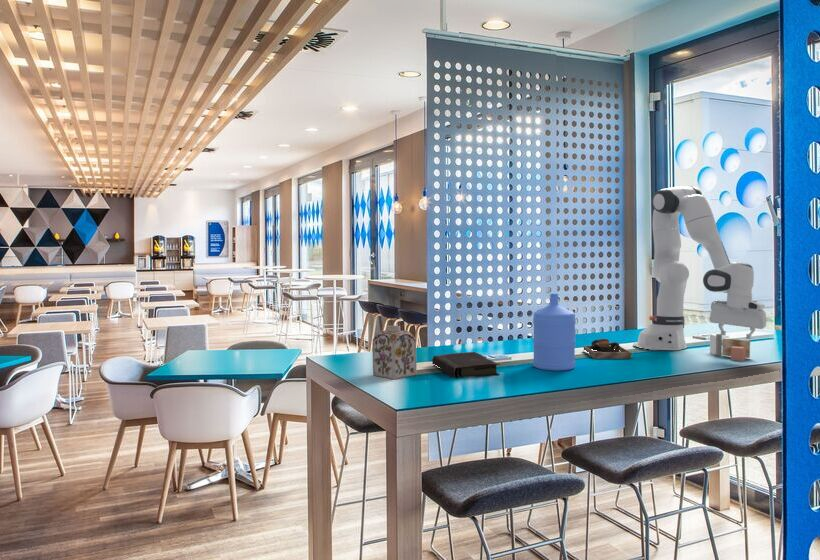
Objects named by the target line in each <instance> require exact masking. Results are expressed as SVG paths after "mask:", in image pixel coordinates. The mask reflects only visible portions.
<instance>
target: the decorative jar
mask: <svg viewBox="0 0 820 560" xmlns="http://www.w3.org/2000/svg"><path fill="white" fill-rule="evenodd" d="M417 362H418V361H417V339H416V337H415V336H414V335H413V334H412V333H411V331H408V330H404V329H401V325H388V326H387V329H386V330H381V331H379V332H378V333H376V335H375V336H374V337H373V338H372V375H373V376H376V377H379V378H384V379H389V380H393V381H395V380H396V381H397V380H399V379H404V378H409V377H413V376H416V375H417V369H418V368H417Z"/></svg>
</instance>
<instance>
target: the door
mask: <svg viewBox="0 0 820 560" xmlns="http://www.w3.org/2000/svg"><path fill="white" fill-rule="evenodd" d="M733 346H740V347H746V359H750V358H751V339H737V338H736V339H735V338H727V337H722V356H724V357H725V356H726V357H731V347H733Z"/></svg>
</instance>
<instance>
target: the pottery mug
mask: <svg viewBox="0 0 820 560" xmlns="http://www.w3.org/2000/svg"><path fill="white" fill-rule="evenodd" d="M590 346H591V348H590V349H593V350H597V351H601V352H618V351H619V349H620V344H619V342H616V341H614V342H610V340H609V339H608V338H600V339H596V340H595V339H594V340H592V341H591V345H590ZM614 346H617V347H616V349H615V350H614Z"/></svg>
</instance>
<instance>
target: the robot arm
mask: <svg viewBox="0 0 820 560" xmlns="http://www.w3.org/2000/svg"><path fill="white" fill-rule="evenodd" d="M651 204H652V207H653V212H652V236H653V245H654V246H653V248H654V254H653V256H654V258H653V269H652V271H653V272H652V273H653V276H654V278H655V279H656V281H657V282H658V283H659V288H658V289H659V290H658V294H657V296H656V314H655V315H654V316H652V315H649V316H648V319H649V321H651V322H652V323H651V324H650V325H649V326H646V328H644V329H643V330H642V331H640V333H639V335H638V340H637V342H633V343H632V346H633V345H635V346H638V347H641V348H645V349H644V350H646V349H649V350H653V351H682V350H685V349H687V344H686V340H685V331H684V330H685V323H686V322H685V316H684V299H685V298H684V297H685V293H686V288H687V282H688V279H689V276H690V271H689V268H688V267H687V265H685V264H684V263H683V262H681V261H680V253H681V252H680V251H681V248H682V240H681V239H682V238H681V232H680V231H681V229H680V222H679V217H680V216H681V215H682V216H683V221H684V224H685V228H686V230H687V232H688V235H689V236H690V238H691V239H692V240H693V241H694V242H696V243H697V244H699V245H700V246H702V247H703V248H704V249H705V250H706V251H707V253H708V255H709V258H710V260H711V263H712V266H713V269H710V270H708V271H707V272H705V273H704V274H703V279H702V284H703V286H704V287H705V289H706V290H708V292H712V293H723V294H727V295H726V300H724V301H723V300H714V301H711V302H710V310H711V311H710V314H709V322H710V323H712V324H718V328H719V330H720V334H721V335H722V336H726V335H727V334H726V333H727V331H726V330H724V328H723V327H724V326H725V325H729V326H735V327H743V328H748V329H749V331H750V333H747V334H746V337H745V340H751V339H752V336H753V334H754V333H755V332H756V329H759V330H764V329H765V328H766V326H767V314H766V311H765V310H764V309H765V306H766V305H765V304H764V303H762V302H761V301H760V302H759V301H757V300H755V299H753V292H752V290H753V287H754V280H755V272H754V268H753V266H752V265H751V264H750V263H747V262H746V263H745V262H742V261H733V262H730V259H729V256H728V254H727V251H726V249H725V246H724V244H723V242H722V239H721V236H720V233H719V230H718V227H717V223H716V220H715V217H714V214H713V211H712V208H711V206H710V204H709V202H708V200H707V199H706V197H705V196H704V195H703V194H702V191H701V190H700V189H699V188H698V187H696V186H694V185H693V186H690V185H686V186H673V187H669V188H662V189H660V190H657V191H656V192H655V193H654V194H653V197H652V203H651Z"/></svg>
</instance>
